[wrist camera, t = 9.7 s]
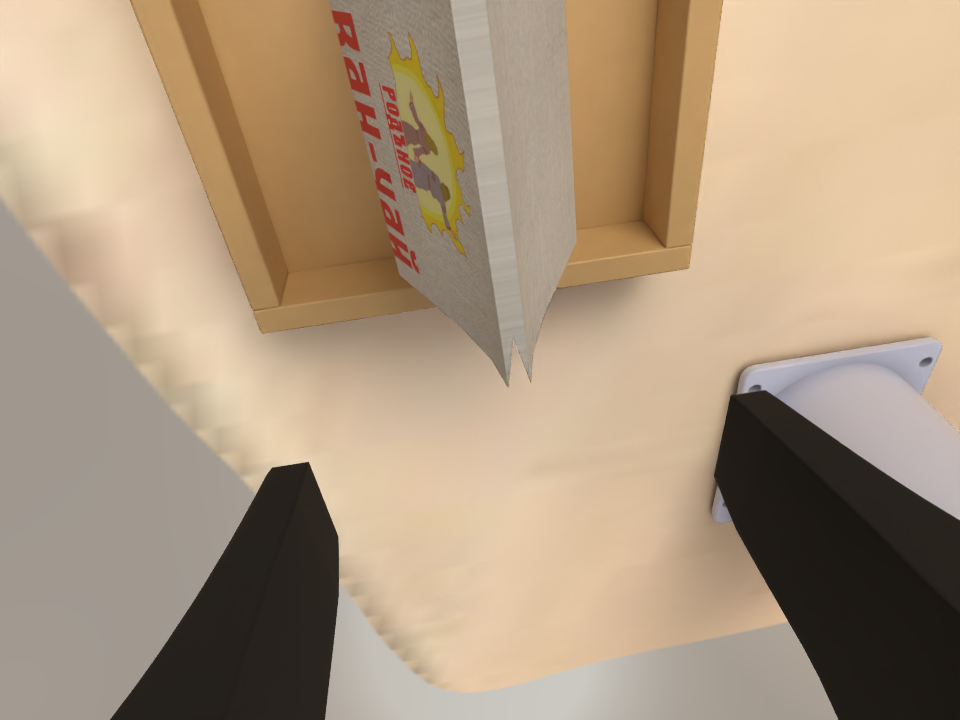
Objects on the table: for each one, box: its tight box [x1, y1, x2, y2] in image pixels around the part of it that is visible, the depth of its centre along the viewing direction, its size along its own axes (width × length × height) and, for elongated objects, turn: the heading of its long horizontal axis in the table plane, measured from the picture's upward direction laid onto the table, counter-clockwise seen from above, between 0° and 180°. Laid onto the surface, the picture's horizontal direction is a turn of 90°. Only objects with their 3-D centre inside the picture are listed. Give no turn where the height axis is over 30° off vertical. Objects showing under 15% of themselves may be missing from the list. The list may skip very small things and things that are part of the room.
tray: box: [130, 0, 723, 334], centre depth 15 cm, size 14×13×2 cm
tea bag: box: [329, 0, 577, 387], centre depth 11 cm, size 4×7×10 cm, turn 8°
